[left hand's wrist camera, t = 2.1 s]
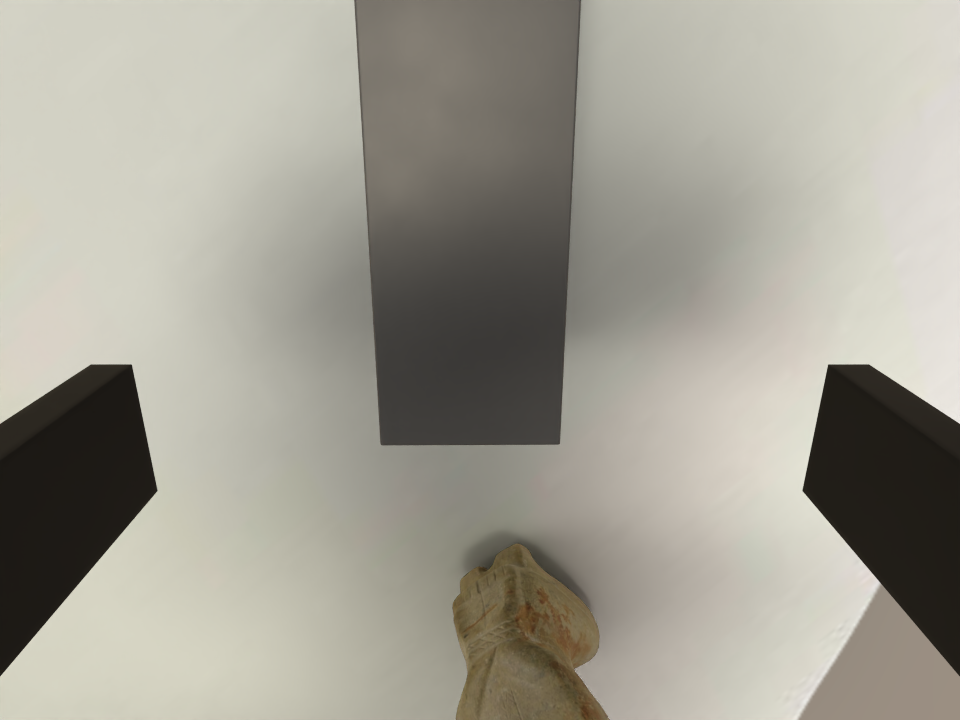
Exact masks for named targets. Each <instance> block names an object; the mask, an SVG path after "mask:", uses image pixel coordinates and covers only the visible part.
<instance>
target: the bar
mask: <svg viewBox="0 0 960 720" xmlns="http://www.w3.org/2000/svg"><path fill="white" fill-rule="evenodd" d="M354 2H355V19H356V36H357V53H358V69H359V86H360V103H361V120H362V137H363V154H364V171H365V188H366V205H367V222H368V239H369V255H370V272H371V289H372V306H373V323H374V340H375V357H376V374H377V391H378V408H379V425H380V441H381V445H544V444H560V431H561V410H562V388H563V367H564V346H565V325H566V304H567V283H568V262H569V241H570V220H571V199H572V178H573V157H574V136H575V115H576V94H577V73H578V52H579V31H580V10H581V0H354Z"/></svg>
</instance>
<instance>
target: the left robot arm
mask: <svg viewBox="0 0 960 720" xmlns="http://www.w3.org/2000/svg"><path fill="white" fill-rule="evenodd" d="M156 492H157V486H156V481H155V476H154V471H153V467H152V462H151V457H150V452H149V447H148V442H147V437H146V432H145V427H144V422H143V418H142V413H141V408H140V403H139V398H138V393H137V388H136V383H135V378H134V373H133V368H132V365H90V366H88V367H87V368H85V369H84V370H82V371H80V372H79V373H77V374H76V375H74V376H73V377H71V378H70V379H68V380H67V381H65V382H64V383H62V384H61V385H59V386H58V387H56V388H54V389H53V390H51V391H50V392H48V393H47V394H45V395H44V396H42V397H41V398H39V399H38V400H36V401H35V402H33V403H31V404H30V405H28V406H27V407H25V408H24V409H22V410H21V411H19V412H18V413H16V414H15V415H13V416H12V417H10V418H9V419H7V420H5V421H4V422H2V423H1V424H0V676H1V675H2V674H3V672H4V671H5V670H6V669H7V668H8V666H9V665H10V664H11V663H12V662H13V661H14V659H15V658H16V657H17V656H18V655H19V654H20V652H21V651H22V650H23V649H24V648H25V646H26V645H27V644H28V643H29V642H30V641H31V639H32V638H33V637H34V636H35V635H36V633H37V632H38V631H39V630H40V629H41V628H42V626H43V625H44V624H45V623H46V622H47V621H48V619H49V618H50V617H51V616H52V615H53V613H54V612H55V611H56V610H57V609H58V608H59V606H60V605H61V604H62V603H63V602H64V600H65V599H66V598H67V597H68V596H69V595H70V593H71V592H72V591H73V590H74V589H75V587H76V586H77V585H78V584H79V583H80V582H81V580H82V579H83V578H84V577H85V576H86V575H87V573H88V572H89V571H90V570H91V569H92V567H93V566H94V565H95V564H96V563H97V562H98V560H99V559H100V558H101V557H102V556H103V554H104V553H105V552H106V551H107V550H108V549H109V547H110V546H111V545H112V544H113V543H114V542H115V540H116V539H117V538H118V537H119V536H120V534H121V533H122V532H123V531H124V530H125V529H126V527H127V526H128V525H129V524H130V523H131V521H132V520H133V519H134V518H135V517H136V516H137V514H138V513H139V512H140V511H141V510H142V508H143V507H144V506H145V505H146V504H147V503H148V501H149V500H150V499H151V498H152V497H153V496H154V494H155V493H156ZM803 492H804V493H805V494H806V496H807V497H808V498H809V499H810V500H811V501H812V503H813V504H814V505H815V506H816V507H817V508H818V510H819V511H820V512H821V513H822V514H823V516H824V517H825V518H826V519H827V520H828V521H829V523H830V524H831V525H832V526H833V527H834V529H835V530H836V531H837V532H838V533H839V534H840V536H841V537H842V538H843V539H844V540H845V542H846V543H847V544H848V545H849V546H850V547H851V549H852V550H853V551H854V552H855V553H856V554H857V556H858V557H859V558H860V559H861V560H862V562H863V563H864V564H865V565H866V566H867V567H868V569H869V570H870V571H871V572H872V573H873V575H874V576H875V577H876V578H877V579H878V580H879V582H880V583H881V584H882V585H883V586H884V587H885V589H886V590H887V591H888V592H889V593H890V595H891V596H892V597H893V598H894V599H895V600H896V602H897V603H898V604H899V605H900V606H901V608H902V609H903V610H904V611H905V612H906V613H907V615H908V616H909V617H910V618H911V619H912V620H913V622H914V623H915V624H916V625H917V626H918V628H919V629H920V630H921V631H922V632H923V633H924V635H925V636H926V637H927V638H928V639H929V641H930V642H931V643H932V644H933V645H934V646H935V648H936V649H937V650H938V651H939V652H940V654H941V655H942V656H943V657H944V658H945V659H946V661H947V662H948V663H949V664H950V665H951V666H952V668H953V669H954V670H955V671H956V672H957V674H958V675H959V676H960V424H959V423H958V422H956V421H955V420H953V419H951V418H950V417H948V416H947V415H945V414H944V413H942V412H941V411H939V410H938V409H936V408H935V407H933V406H932V405H930V404H929V403H927V402H925V401H924V400H922V399H921V398H919V397H918V396H916V395H915V394H913V393H912V392H910V391H909V390H907V389H906V388H904V387H902V386H901V385H899V384H898V383H896V382H895V381H893V380H892V379H890V378H889V377H887V376H886V375H884V374H883V373H881V372H880V371H878V370H876V369H875V368H873V367H872V366H870V365H828V368H827V373H826V378H825V383H824V388H823V393H822V398H821V403H820V408H819V413H818V418H817V422H816V427H815V432H814V437H813V442H812V447H811V452H810V457H809V462H808V467H807V471H806V476H805V481H804V486H803Z"/></svg>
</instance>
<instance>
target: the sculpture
mask: <svg viewBox="0 0 960 720" xmlns="http://www.w3.org/2000/svg"><path fill="white" fill-rule="evenodd" d="M460 590H461V594H460V595H459V596H457V598H456V599H455V600H454V602H453V614H454V624H455V628H456V632H457V636H458V640H459V644H460V647H461V650H462V652H463V655H464V657H465V660H466V664H467V671H468V676H467V680H466V683H465V686H464V689H463V692H462V695H461V699H460V702H459V705H458V709H457V714H456V720H609V718H608V716H607V715H606V713H605V712H604V710H603V709H602V707H601V706H600V704H599V703H598V702H597V700H596V699H595V698H594V696H593V695H592V694H591V693H590V691H589V690H588V688H587V687H586V686H585V684H584V683H583V681H582V680H581V679H580V677H579V676H578V675H577V674H576V672H575V670H574V669H575V668H577V667H579V666H581V665H583V664H585V663H586V662H588V661H590V660H591V659H592V658H593V657H594V656H595V654H596V653H597V650H598V647H599V631H598V626H597V624H596V621H595V619H594V617H593V615H592V613H591V612H590V610H589V609H588V607H587V606H586V605H585V604H584V603H583V601H582V600H581V599H580V598H579V597H577V596H576V595H575V594H574V593H573V592H572V591H571V590H569V589H568V588H567V587H566V586H564V585H563V584H562V583H561V582H559V581H558V580H556V579H555V578H553V577H552V576H550V575H549V574H548V573H546V572H545V571H544V570H543V569H542V568H541V567H540V566H539V565H538V564H537V563H536V562H535V561H534V559H533V558H532V556H531V553H530V551H529V550H528V549H527V548H525V547H524V546H523V545H521V544H514V545H512V546H510V547H508V548H506V549H504V550H503V551H501V552H499V553H498V554H497V555H496V557H495V560H494V563H493V565H492V566H491V568H490V569H489V570H488V569H487V568H484V567H479V566H478V567H476V568H474V569H473V570H471V571H470V572H469V573H468V574H466V575H465V576H464V577H463V578H462V579H461V581H460Z"/></svg>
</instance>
